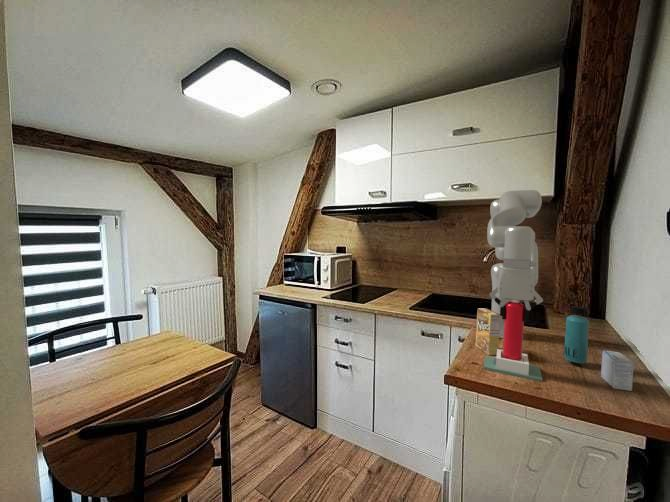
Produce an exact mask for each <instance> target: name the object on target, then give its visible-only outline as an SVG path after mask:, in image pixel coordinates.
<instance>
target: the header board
mask: <svg viewBox="0 0 670 502" xmlns="http://www.w3.org/2000/svg"><path fill="white" fill-rule="evenodd" d="M483 370H486V371H492V372H495V373H496V372H497V373H501V374H504V375H510V376H514V377H517V378H518V377H519V378H523V379H529V380H533V381H538V382H541V383H542V382H543V376H542V371H541V368H540V366H538V365H534V364H530V361H529V357H528V353H523V352H522V359H521V360H512V359H508V358H506V357H504V356H503V349H497V355H493V356H490V355H485V356H484V362H483Z"/></svg>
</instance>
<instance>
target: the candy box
mask: <svg viewBox="0 0 670 502" xmlns="http://www.w3.org/2000/svg"><path fill="white" fill-rule="evenodd" d="M476 309H477V312H476V331H475V347H477V348H478V349H480V350H481V351H483V352H484V353H486V354H487V356H497V349H499V347H500V345H499V344H500V338H499V333H500V317H501V316H500V314H498V313H496V312H493V311H491V309H489V308H487V307H485V308H481V307H480V308H476Z"/></svg>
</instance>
